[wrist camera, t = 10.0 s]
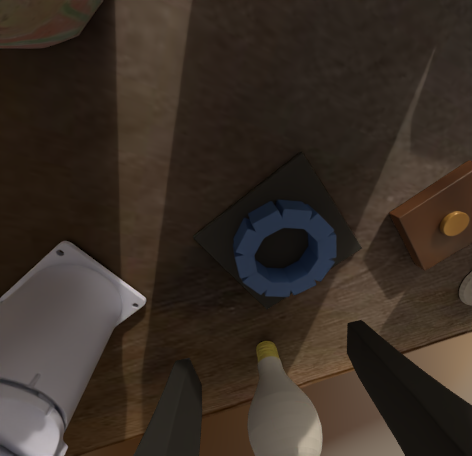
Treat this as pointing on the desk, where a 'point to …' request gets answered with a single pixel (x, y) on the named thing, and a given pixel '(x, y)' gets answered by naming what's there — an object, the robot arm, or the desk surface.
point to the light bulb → (281, 412)
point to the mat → (286, 239)
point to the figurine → (466, 290)
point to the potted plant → (43, 21)
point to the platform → (437, 218)
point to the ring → (297, 274)
